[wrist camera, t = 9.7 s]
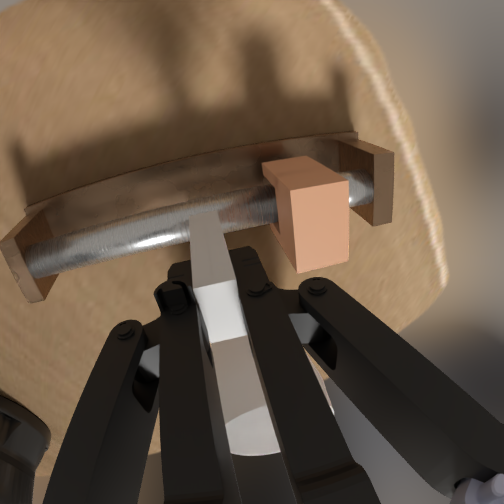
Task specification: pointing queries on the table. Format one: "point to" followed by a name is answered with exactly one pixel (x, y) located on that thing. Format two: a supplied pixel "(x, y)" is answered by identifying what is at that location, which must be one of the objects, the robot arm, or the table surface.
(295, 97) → the table surface
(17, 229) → the wooden rod stand
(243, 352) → the cup
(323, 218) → the tan block
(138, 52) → the table surface
